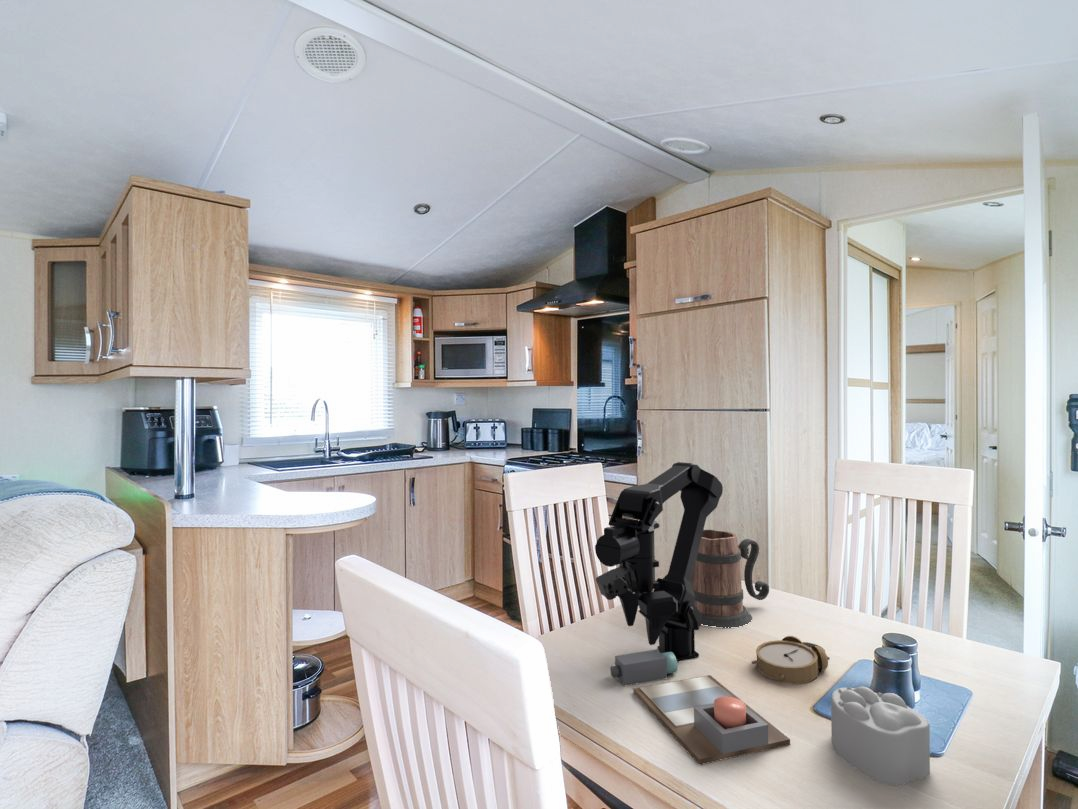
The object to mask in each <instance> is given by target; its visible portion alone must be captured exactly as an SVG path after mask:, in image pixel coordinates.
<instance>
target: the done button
mask: <svg viewBox="0 0 1078 809" xmlns="http://www.w3.org/2000/svg"><path fill="white" fill-rule="evenodd" d="M739 699H740V698H739ZM739 699H737V698H733V697H719V698H717V699H715V700H714V720H715V721H716V722H717V723H718V724H719V725H720V726H722V727H723V728H724V729H729V728H734V727H739V726H743V725H746V705H745V703H746V702H745V701H743V700H742V699H741V700H742V701H743V702H742V701H741V700H739Z"/></svg>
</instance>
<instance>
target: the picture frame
mask: <svg viewBox="0 0 1078 809" xmlns="http://www.w3.org/2000/svg"><path fill="white" fill-rule="evenodd" d="M633 694H634V695H635V696H636V697H637V698H638V699H639V700H640V701H641V703H642V704H643V705H644V706H645V707H646V708H647V709H648V710H649V712H651V713H652V715H653V716H654V717H655V718H656V719H657V720H658V721H659V722H660V723H661V725H662V726H663V727H665V729H666V730H667V731H668V732H669V733H670V734H671V735H672V736H673V737H674V738H675V740H676V741H677V742H678V743H679V744H680V745H681V746H682V747H683V749H685V751H686V752H687V751H688V752H689V753H688V752H687V753H688V754H689V755H690V754H691V755H690V756H691V758H693V759H694V761H695V762H696V763H699V764H700V765H703V763H705V764H708V762H709V763H712V761H714V762H717V761H716V760H718V761H721V760H720V759H723V760H726V759H725V758H727V759H730V757H731V758H735V756H736V757H740V756H744V754H745V755H749V754H754V753H757V752H762V750H763V751H767V750H770V749H775V748H780V747H785V746H788V745H791V739H790V738H789V737H788V735H787V736H786V735H785V733H783V732H782V731H781V730H779V729H778V728H777V727H775V726H774V725H773V724H772V723H771V722H769V720H767V719H766V718H764V717H763V716H762V715H761V714H759V713H758V712H757V711H755V709H753V708H752V707H750V706H749V705H748V704H747V703H746V702H744V700H742V699H740V697H738V696H737V695H735V693H733V692H732V691H731V690H730V689H728V688H727V687H726V686H724V685H723V684H722V683H721V682H719V681H718V680H717V679H716V678H714V677H713V676H712V675H710V674H708V675H704V676H703V675H702V676H697V677H690V678H686V679H685V678H684V679H680V680H675V681H669V682H663V683H657V684H652V685H645V686H640V687H635V688H633ZM719 697H733V698H737V699H739V700H741V701H742V702H744V703H745V705H746V707H747V708H748V709H749V710H751V711H752V712H753V713H754V714H756V715H757V716H758V717H759V718H760V719H762V720H763V721H764V722H765V723H767V724H768V744H766V745H762V746H757V747H753V748H748V749H744V750H739V751H735V752H730V753H726V754H722V753H721V752H720V751H719V750H718V749H717V748H716V747H715V746H714V745H713V744H712V743H711V742H710V741H709V740H708V739H707V738H706V737H705V736H704V735H703V734H702V733H701V732H700V731H699V730H698V729H697V728H696V727H695V726H694V707H697V706H703V705H708V704H713V703H714V700H715V699H717V698H719ZM748 753H749V754H748ZM739 755H740V756H739Z"/></svg>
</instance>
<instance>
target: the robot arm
mask: <svg viewBox="0 0 1078 809" xmlns="http://www.w3.org/2000/svg"><path fill="white" fill-rule="evenodd" d="M723 490H724V489H723V484H722V482H721V481H720V480H719V478H718V477H716V476H715V475H714V474H713V473H710V472H709V471H706V470H704V469H702V468H701V467H700V466H699V465H698V464H696V463H693V462H683V461H678V462H675V463H673V464H671V467H669V469H667V470H665V471H664V472H663V473H661V474H660V475H658V476H656V477H655V478H653V479H652V480H650V481H649V482H647V483H645V484H637V485H632V486H628V487H625V488H624V489H623V490H621V492H620V494H619V496H618V498H617V500H616V503H615V505H614V508H613V511H612V514H611V517H610V519H609V522H608V526H607V527H604V529H603V534H602V535H600V536H599V537H598V538H597V540H596V543H595V545H594V551H595V555H596V558H597V559H598V561H599V562H600V563H601V564H602V565H604V566H606V567H610V568H611V567H612V568H613V567H615V566H617V567H616V568H613V569H610V570H608V571H606V572H604V573H602V574H600V575H598V576H596V578H595V582H596V585H597V587H598V590H599V593H600V595H601V596H603V597H605V599H606V600H609V601H611V600H615V599H616V598H617V597H618V599H619V602H620V604H621V608H622V611H623V613H624V614H623V615H624V618H625V621H626V624H627V626H628V627H633V626H634V625H635V620H636V617H637V613H640V615H641V616H642V617H643V618H644V620H645V627H646V634H647V641H648V644H649V645H650V646H653V645H656V643H657V641H658V645H657V646H656V648H657V649H656V650H658V651H659V652H660V653H666V652H673V654H674V655H675V657H676V660H677V661H679V660H685V659H692V658H697V657H699V656H700V654H699V652H697V651H696V648H695V647H696V645H695V642H696V641H695V639H696V638H695V631H699V630H700V627H701V622H702V614H701V613H700V612H699V610H698V609H697V608H696V606H695V605H694V603H695V594H694V590H693V587H692V584H691V579H692V575H693V571H694V566H695V562H696V558H697V554H698V550H699V546H700V542H701V538H702V534H703V530H705V529H704V528H705V525H706V520H707V518H708V517H709V516H710V515H711V514H712V513H713V512H714V511H715V510H716V509H717V508H718V504H719V502H720V498H721V497H722V496H723ZM679 492H680V496H679V497H680V500H681V503H682V506H683V514H682V518H681V520H680V521H681V522H680V526H679V529H678V530H679V531H678V534H677V537H676V541H675V545H674V549H673V552H672V553H673V554H672V557H671V561H670V564H669V567H668V568H669V569H668V571H667V574H666V575H665V576H664V577H663V578H660V577H658V578H657V579H656V572H655V571H656V569H655V568H659V567H660V561H659V560H657V559H656V558H655V556H656V555H655V530H656V529H659V528H660V524H659V522H657V521H656V518H657V517H658V516H659V515H660V514H661V513H662V512H663V510H664V507H663V506H664V503H665V502H666V501H668V500H669V499H671V498H672V497H673V496H674V495H676V494H677V493H679ZM638 608H639V610H638Z"/></svg>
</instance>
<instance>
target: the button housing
mask: <svg viewBox="0 0 1078 809" xmlns="http://www.w3.org/2000/svg"><path fill="white" fill-rule="evenodd" d="M694 726H695V727H696V728H697V729H698V730H699V731H700V732H701V733H702V734H703V735H704V736H705V737H706V738H707V739H708V740H709V741H710V742H711V743H712V744H713V745H714V746H715V747H716V748H717V749H718V750H719V751H720V752H721V753H722V754H726V753H730V752H735V751H739V750H744V749H748V748H753V747H757V746H762V745H766V744H768V724H767V723H765V722H764V721H763V720H762V719H760V718H759V717H758V716H757V715H756V714H754V713H753V712H752V711H751V710H749V709H748V708H747V707H746V725H743V726H739V727H734V728H729V729H724V728H723V727H722V726H720V725H719V724H718V723H717V722H716V721H715V720H714V703H713V704H708V705H703V706H697V707H694Z"/></svg>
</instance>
